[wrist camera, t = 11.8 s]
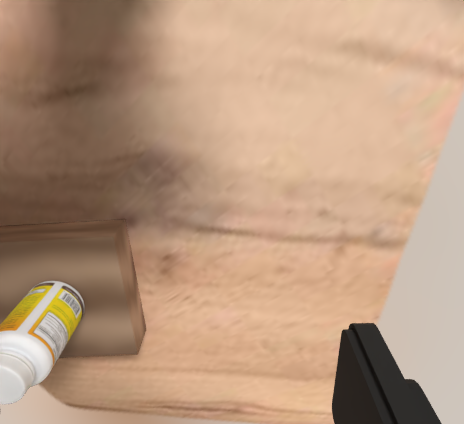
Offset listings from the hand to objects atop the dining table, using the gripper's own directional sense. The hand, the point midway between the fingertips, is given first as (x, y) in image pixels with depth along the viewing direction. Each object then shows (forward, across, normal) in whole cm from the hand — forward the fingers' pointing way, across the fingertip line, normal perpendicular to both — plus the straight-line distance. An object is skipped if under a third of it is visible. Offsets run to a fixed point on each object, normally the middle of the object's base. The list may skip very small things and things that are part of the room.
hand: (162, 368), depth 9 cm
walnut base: (+27, +16, +15) cm, 35 cm away
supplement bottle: (+23, +16, +15) cm, 32 cm away
